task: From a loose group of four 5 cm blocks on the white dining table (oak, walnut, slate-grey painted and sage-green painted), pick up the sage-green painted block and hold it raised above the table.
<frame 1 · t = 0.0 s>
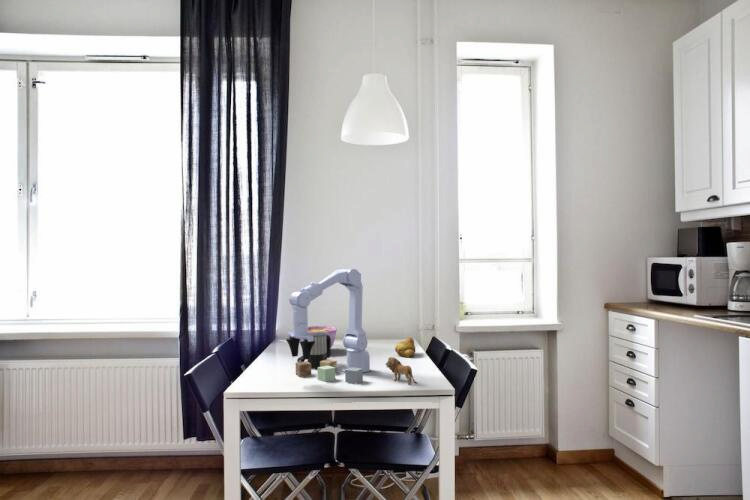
hand: (300, 357, 202), 10 cm above the table, fingers open, 7 cm apart
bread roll: (405, 356, 253), on the table
oak block: (328, 372, 220), on the table
walnut block: (303, 375, 216), on the table
slate grey block: (354, 381, 204), on the table
bowl of food: (317, 352, 264), on the table
sage painted block: (326, 380, 208), on the table
milk frother: (311, 365, 234), on the table
lion figurine: (401, 382, 204), on the table
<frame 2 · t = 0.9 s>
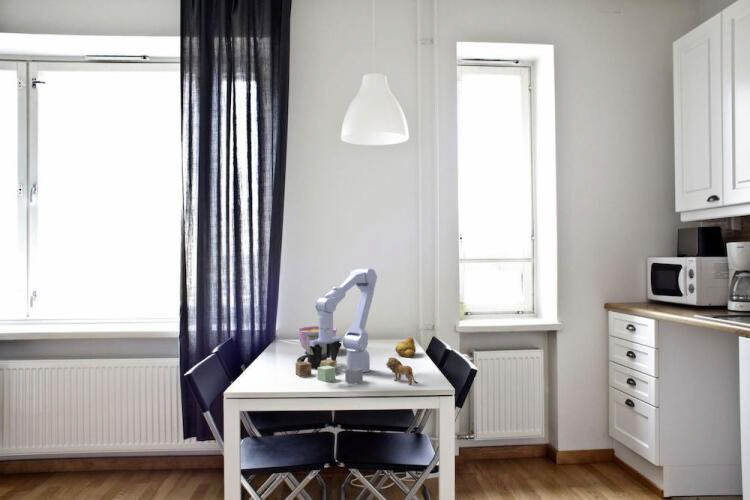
hand: (326, 362, 208), 7 cm above the table, fingers open, 7 cm apart
nothing on the table moved.
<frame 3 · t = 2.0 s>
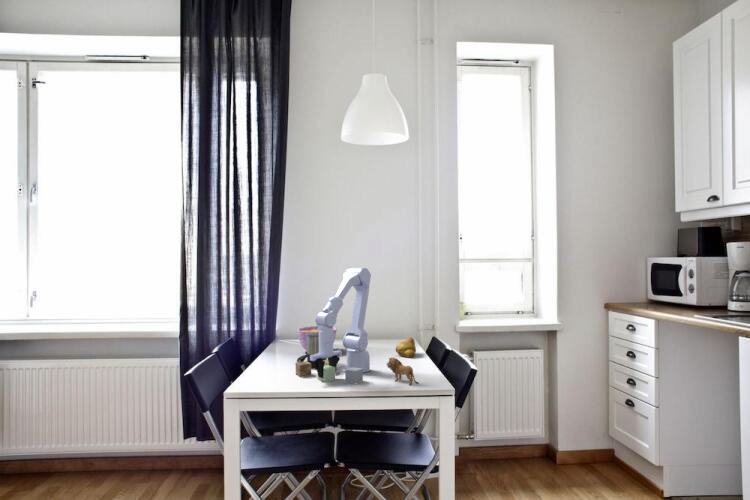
hand: (326, 376, 208), 1 cm above the table, fingers closed on sage painted block, 5 cm apart
sage painted block: (326, 379, 208), on the table, touching gripper
everything else where it was.
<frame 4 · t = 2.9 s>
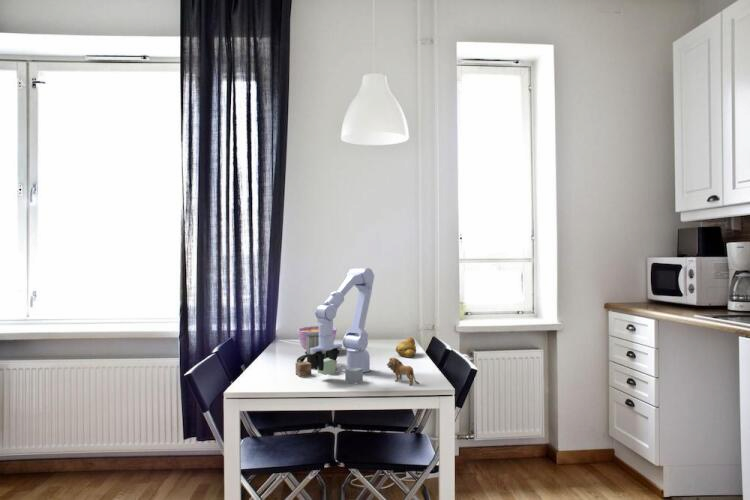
hand: (326, 369, 208), 4 cm above the table, fingers closed on sage painted block, 5 cm apart
sage painted block: (326, 372, 208), point 3 cm above the table, touching gripper
everything else where it was.
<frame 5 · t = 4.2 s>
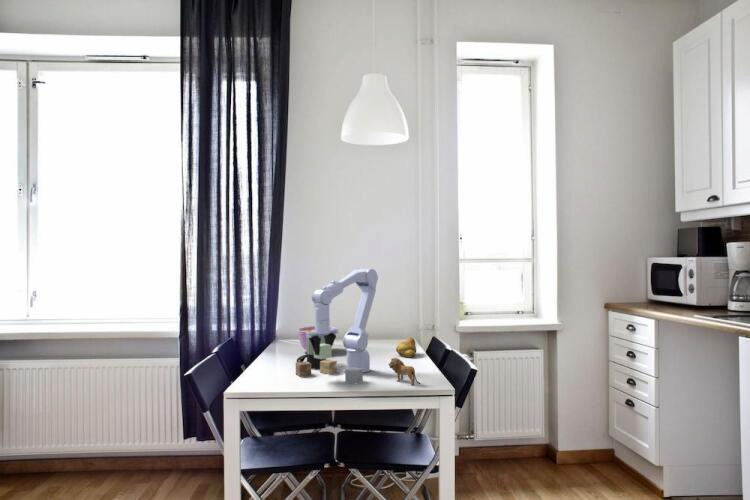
hand: (322, 353, 208), 10 cm above the table, fingers closed on sage painted block, 5 cm apart
sage painted block: (322, 357, 208), point 9 cm above the table, touching gripper
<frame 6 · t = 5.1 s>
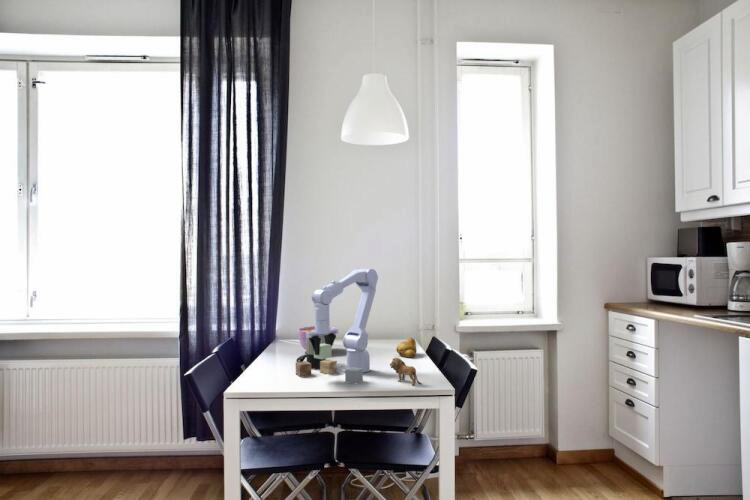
hand: (322, 353, 208), 10 cm above the table, fingers closed on sage painted block, 5 cm apart
sage painted block: (322, 357, 208), point 9 cm above the table, touching gripper
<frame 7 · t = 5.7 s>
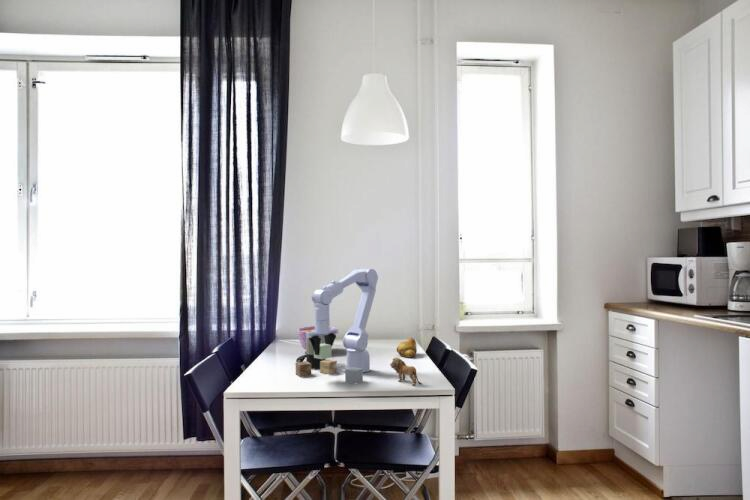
hand: (322, 353, 208), 10 cm above the table, fingers closed on sage painted block, 5 cm apart
sage painted block: (322, 357, 208), point 9 cm above the table, touching gripper
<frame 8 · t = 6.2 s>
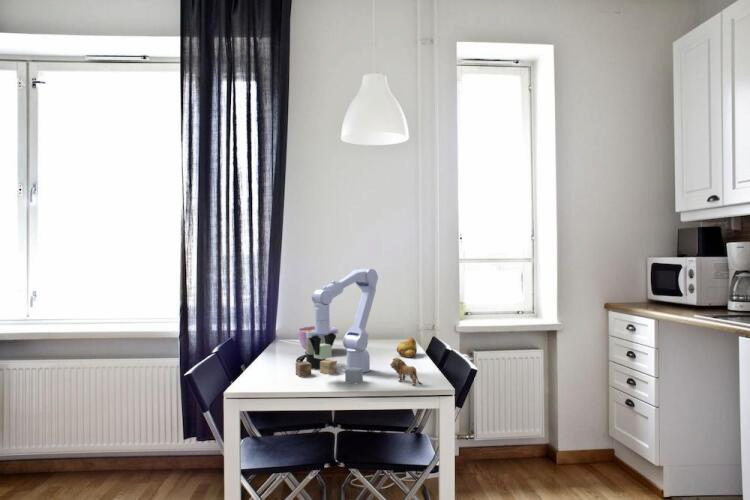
hand: (322, 353, 208), 10 cm above the table, fingers closed on sage painted block, 5 cm apart
sage painted block: (322, 357, 208), point 9 cm above the table, touching gripper
at the end: the gripper is holding sage painted block; sage painted block point 8.8 cm above the table; slate grey block moved 0.1 cm from its start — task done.
